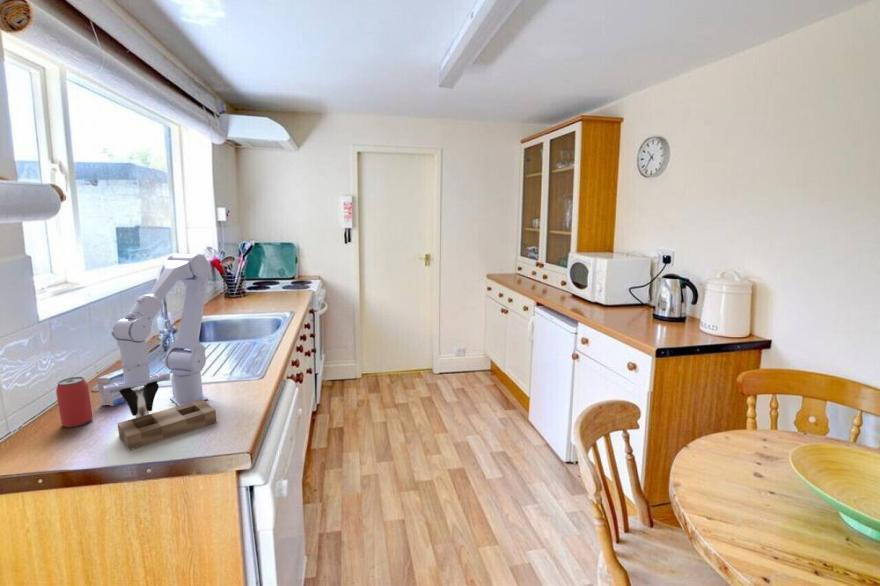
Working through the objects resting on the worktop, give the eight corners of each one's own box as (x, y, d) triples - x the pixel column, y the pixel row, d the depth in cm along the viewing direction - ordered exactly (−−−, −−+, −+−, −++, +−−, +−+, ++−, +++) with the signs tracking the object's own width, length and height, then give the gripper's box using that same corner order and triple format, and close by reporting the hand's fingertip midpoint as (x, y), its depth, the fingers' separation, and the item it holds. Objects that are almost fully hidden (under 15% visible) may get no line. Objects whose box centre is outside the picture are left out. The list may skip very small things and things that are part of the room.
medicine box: (113, 406, 131) (109, 378, 129) (100, 405, 132) (96, 377, 130) (136, 396, 138) (132, 369, 137) (124, 394, 139) (120, 368, 138)
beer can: (86, 415, 126) (80, 374, 123) (97, 420, 122) (91, 378, 120) (57, 424, 120) (50, 382, 118) (68, 430, 117) (61, 387, 115)
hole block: (119, 436, 114) (117, 423, 113) (203, 410, 128) (201, 399, 127) (129, 450, 107) (127, 436, 106) (216, 422, 121) (215, 410, 121)
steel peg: (135, 424, 120) (130, 389, 118) (148, 420, 122) (143, 385, 120) (138, 428, 118) (133, 392, 116) (151, 424, 120) (147, 388, 118)
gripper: (104, 374, 109) (112, 426, 112) (171, 360, 119) (176, 408, 122) (98, 367, 114) (106, 417, 116) (163, 354, 124) (168, 400, 127)
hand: (141, 412), depth 120 cm, fingers closed on steel peg, 3 cm apart
